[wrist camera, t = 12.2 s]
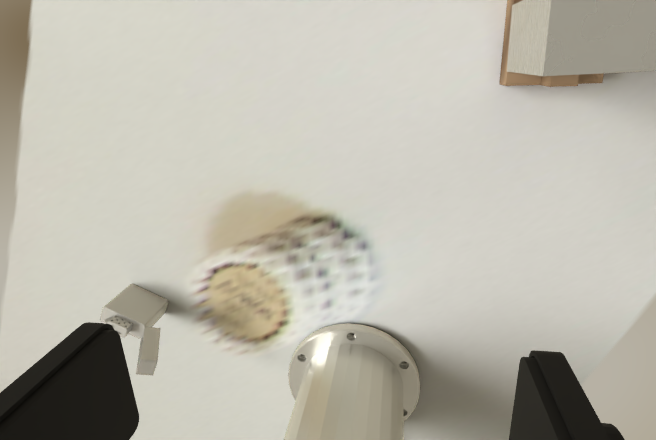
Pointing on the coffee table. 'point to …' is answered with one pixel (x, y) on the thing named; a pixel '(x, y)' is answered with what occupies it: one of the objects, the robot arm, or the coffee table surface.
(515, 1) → the rail
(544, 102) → the coffee table surface
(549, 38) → the white and wooden block
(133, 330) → the lighter
